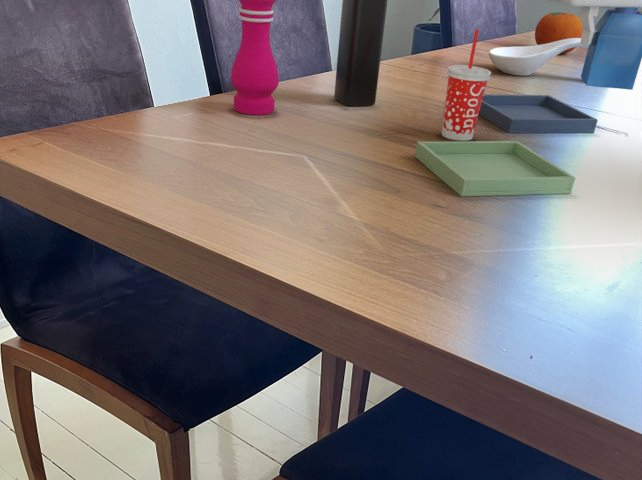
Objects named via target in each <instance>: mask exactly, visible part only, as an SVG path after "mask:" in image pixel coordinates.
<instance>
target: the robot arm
mask: <svg viewBox="0 0 642 480" xmlns="http://www.w3.org/2000/svg"><path fill="white" fill-rule="evenodd" d="M559 1H560V3H561V4H562V5H563V4H564V5H567V6H570V7H580V11H579V18H580V20H581V23H582V28H583V33H582V37H581V44H582V45H585V46H595V45H596V43H597V38H598V36H599V33H600V31H596V30H595V20H594V17H596V18H597V17H598V14H599V10H600V8H615V7H623V8H638V9H642V0H559Z"/></svg>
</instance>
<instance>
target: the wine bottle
mask: <svg viewBox="0 0 642 480" xmlns="http://www.w3.org/2000/svg"><path fill="white" fill-rule="evenodd" d="M388 1H389V0H342V1H341V2H342V4H341V15H340V25H339V38H338V47H337V49H338V50H337V60H336V69H335V70H336V71H335V72H336V73H335V81H334V82H335V83H334V94H333V97H334V99H335V100H336V101H338V102H339V103H341V104H342V105H344V106H346V107H371V106H374V105H375V104H376V99H377V91H378V84H379V83H378V82H379V74H380V66H381V58H382V49H383V42H384V32H385V26H386V17H387V9H388V8H387V7H388Z"/></svg>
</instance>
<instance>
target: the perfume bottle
mask: <svg viewBox="0 0 642 480" xmlns="http://www.w3.org/2000/svg"><path fill="white" fill-rule="evenodd" d="M638 10H639V8H623V7H614V9H612V8H611V9H608V8H607V10H606V11H605V12H604V13H603V15H602V16H601V17H600V19H599V20H598V21H597V23H596V24H594V27H595V30H596V31H600V33H599V36H598V38H597V43H596V45H595V46H589V47H588V50H587V51H586V55H585V58H584V63H583V67H582V70H581V74H580V79H582V81H583V83H584V85H585V86H586V87H597V88H609V89H619V90H628V91H629V90H631V91H632V90H633V89H634V87H635V83H636V79H637V75H638V73H639V69H640V65H641V62H642V13H641V12H639V11H638Z"/></svg>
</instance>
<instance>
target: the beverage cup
mask: <svg viewBox="0 0 642 480" xmlns="http://www.w3.org/2000/svg"><path fill="white" fill-rule="evenodd" d="M479 33H480V29H478V28H477V29H475V31H474V36H473V40H472V47H471V52H470V57H469V62H468V65H465V64H454V65H449V66H448V67H447V72H446V74H447V76H448V77H447V78H448V79H447V85H446V86H447V87H446V95H445V103H444V109H443V110H444V111H443V112H444V113H443V119H442V126H441V127H442V128H441V136H442V137H443V138H446V139H449V140H453V141H472V140H473V137H474V133H475V130H476V126H477V122H478V118H479V116H480V115H479V111H480V107H481V103H482V100H483V96H484V95H485V92H486V88H487V84H488V81H489V80H490V78H491V75H492V71H491V70H489V69H487V68H485V67H480V66H475V65H473V63H474V59H475V58H474V57H475V54H476V47H477V42H478V37H479Z"/></svg>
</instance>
